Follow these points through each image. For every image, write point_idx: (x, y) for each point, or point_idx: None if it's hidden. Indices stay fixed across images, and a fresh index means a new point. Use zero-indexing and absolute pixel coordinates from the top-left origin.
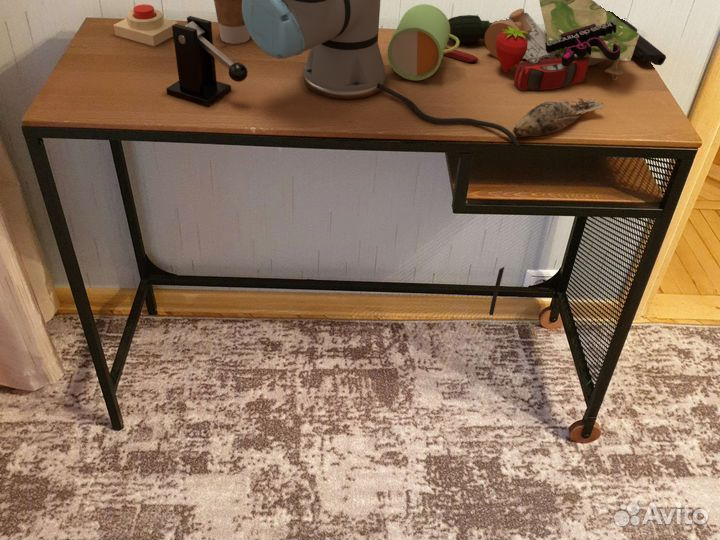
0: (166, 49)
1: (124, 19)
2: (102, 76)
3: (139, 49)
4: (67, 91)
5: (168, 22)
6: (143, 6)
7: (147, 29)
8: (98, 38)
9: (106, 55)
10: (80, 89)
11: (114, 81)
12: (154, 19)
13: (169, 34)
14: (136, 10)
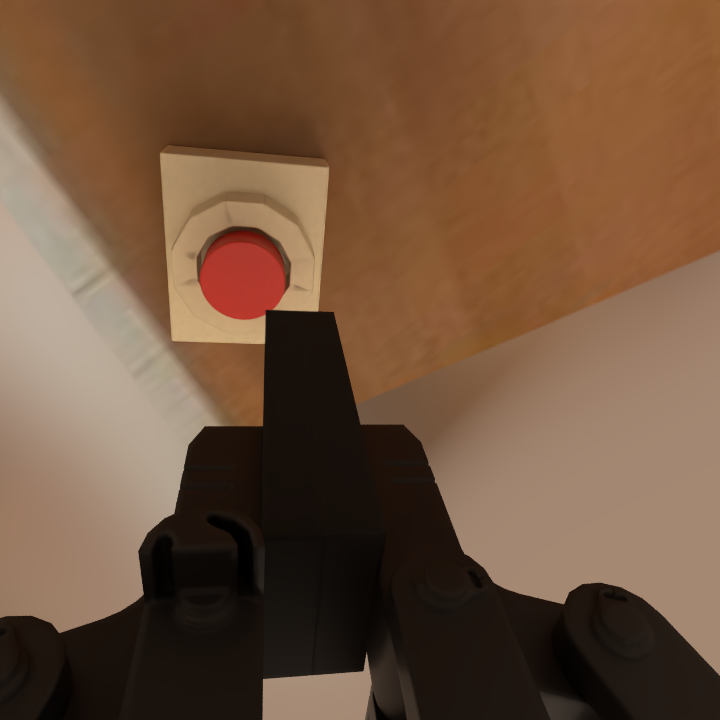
0: (323, 101)
1: (258, 342)
2: (589, 178)
3: (368, 194)
4: (698, 208)
5: (185, 189)
6: (229, 292)
7: (296, 217)
8: (355, 355)
9: (451, 261)
10: (681, 182)
11: (613, 119)
12: (261, 210)
13: (229, 153)
14: (278, 291)
